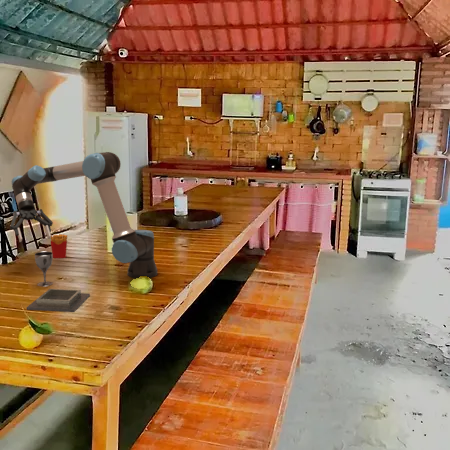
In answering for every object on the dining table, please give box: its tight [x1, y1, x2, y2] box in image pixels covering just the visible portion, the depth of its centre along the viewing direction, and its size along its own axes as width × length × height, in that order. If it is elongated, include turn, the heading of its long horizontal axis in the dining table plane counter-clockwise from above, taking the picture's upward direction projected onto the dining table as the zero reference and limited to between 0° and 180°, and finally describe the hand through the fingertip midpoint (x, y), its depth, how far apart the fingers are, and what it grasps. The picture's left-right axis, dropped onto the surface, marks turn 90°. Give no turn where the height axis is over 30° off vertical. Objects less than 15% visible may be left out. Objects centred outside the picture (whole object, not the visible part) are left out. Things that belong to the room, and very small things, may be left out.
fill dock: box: [26, 288, 91, 313], centre depth 221 cm, size 20×20×4 cm
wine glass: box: [34, 250, 54, 287], centre depth 244 cm, size 8×8×15 cm
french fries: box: [50, 233, 68, 259], centre depth 290 cm, size 9×4×13 cm, turn 99°
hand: (35, 239), depth 250 cm, fingers open, 13 cm apart
